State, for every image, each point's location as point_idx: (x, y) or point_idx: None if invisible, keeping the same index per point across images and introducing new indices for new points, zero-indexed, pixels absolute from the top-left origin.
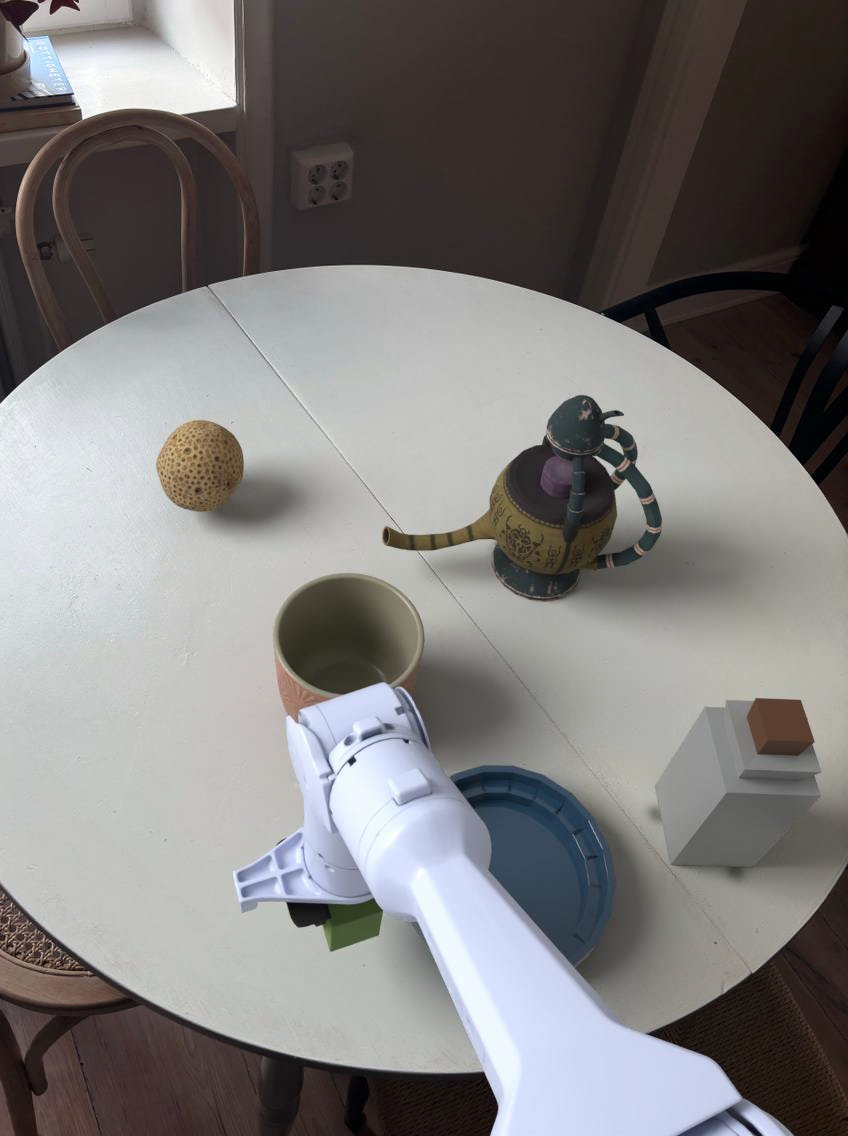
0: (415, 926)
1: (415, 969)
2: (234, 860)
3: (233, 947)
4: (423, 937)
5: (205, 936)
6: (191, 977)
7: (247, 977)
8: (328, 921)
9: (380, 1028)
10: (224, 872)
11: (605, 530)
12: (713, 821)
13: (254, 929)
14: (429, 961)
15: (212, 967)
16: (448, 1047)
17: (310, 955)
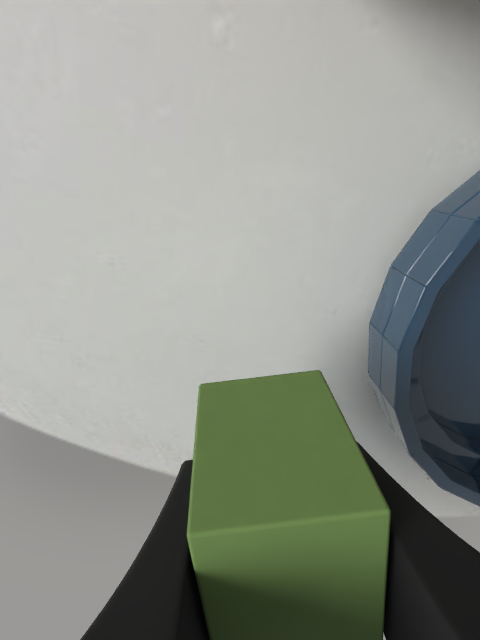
0: (374, 383)
1: (346, 414)
2: (67, 189)
3: (70, 341)
4: (380, 400)
5: (20, 317)
6: (2, 371)
7: (94, 385)
8: None
9: None
10: (47, 210)
11: None
12: None
13: (107, 321)
14: (370, 408)
15: (36, 363)
16: None
17: (196, 373)
